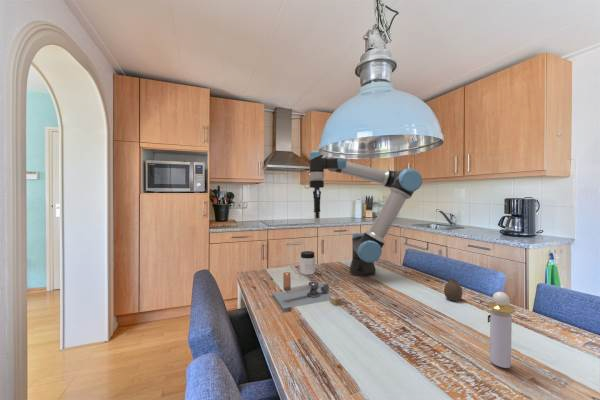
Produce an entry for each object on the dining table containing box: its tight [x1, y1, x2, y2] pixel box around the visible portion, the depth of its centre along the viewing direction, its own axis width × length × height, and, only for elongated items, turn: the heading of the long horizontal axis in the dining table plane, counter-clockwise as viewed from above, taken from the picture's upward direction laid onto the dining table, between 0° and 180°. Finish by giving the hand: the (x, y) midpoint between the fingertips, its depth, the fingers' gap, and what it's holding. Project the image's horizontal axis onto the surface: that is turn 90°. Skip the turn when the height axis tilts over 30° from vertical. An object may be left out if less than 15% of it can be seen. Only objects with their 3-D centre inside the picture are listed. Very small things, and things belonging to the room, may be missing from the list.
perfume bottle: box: [487, 291, 516, 369], centre depth 70 cm, size 6×6×20 cm
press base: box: [272, 287, 335, 313], centre depth 116 cm, size 25×17×4 cm
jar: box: [299, 250, 316, 276], centre depth 154 cm, size 9×8×12 cm
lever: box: [282, 271, 330, 294], centre depth 115 cm, size 22×4×11 cm, turn 118°
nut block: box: [329, 294, 344, 307], centre depth 108 cm, size 4×4×4 cm
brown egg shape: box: [443, 278, 463, 302], centre depth 114 cm, size 7×7×9 cm
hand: (317, 224), depth 141 cm, fingers closed
